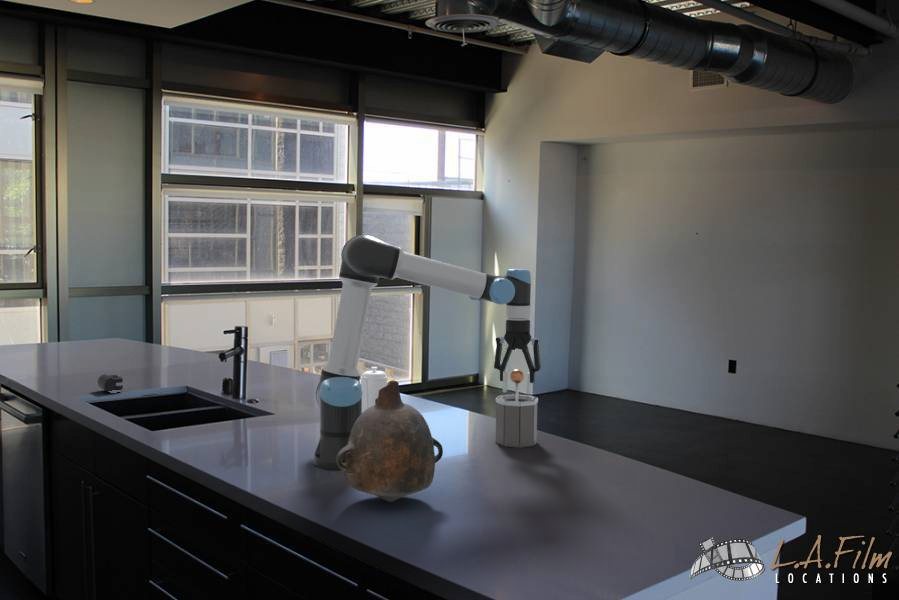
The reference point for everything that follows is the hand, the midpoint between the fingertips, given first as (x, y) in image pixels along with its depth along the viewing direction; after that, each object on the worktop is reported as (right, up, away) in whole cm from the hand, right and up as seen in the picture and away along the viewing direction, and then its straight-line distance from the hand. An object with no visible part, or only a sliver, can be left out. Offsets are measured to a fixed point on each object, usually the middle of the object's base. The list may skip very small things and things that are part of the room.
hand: (516, 392), depth 257 cm
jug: (-35, -20, -58) cm, 71 cm away
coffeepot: (-47, -13, +30) cm, 58 cm away
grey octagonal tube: (0, -16, +3) cm, 16 cm away
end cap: (-159, -9, +78) cm, 177 cm away
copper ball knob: (0, -14, +1) cm, 14 cm away
